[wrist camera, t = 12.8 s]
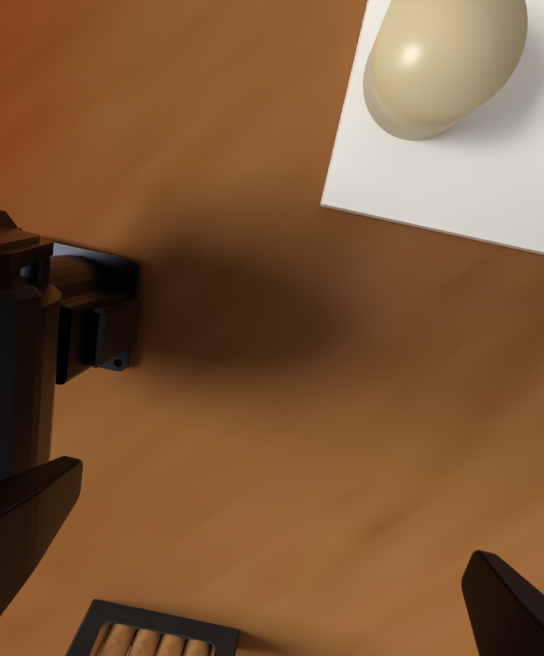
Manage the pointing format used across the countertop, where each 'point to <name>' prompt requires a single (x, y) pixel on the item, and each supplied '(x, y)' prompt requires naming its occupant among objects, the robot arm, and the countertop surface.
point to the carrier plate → (456, 163)
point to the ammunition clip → (148, 634)
